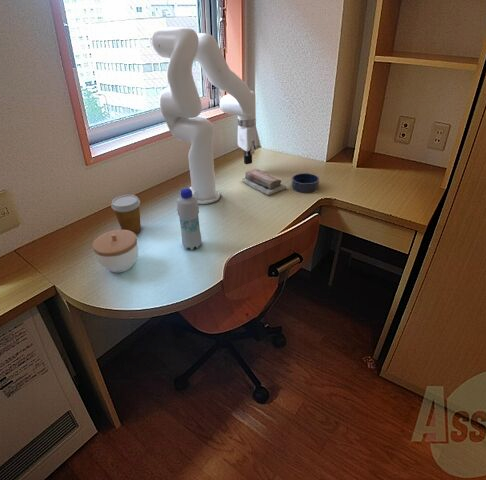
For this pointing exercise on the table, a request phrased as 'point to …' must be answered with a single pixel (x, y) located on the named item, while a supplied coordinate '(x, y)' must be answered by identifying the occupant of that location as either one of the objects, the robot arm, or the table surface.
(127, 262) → the lidded bowl
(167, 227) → the table surface
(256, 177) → the butter dish
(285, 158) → the table surface
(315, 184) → the dark blue bowl
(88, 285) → the table surface
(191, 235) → the bottle
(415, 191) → the table surface
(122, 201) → the disposable coffee cup
